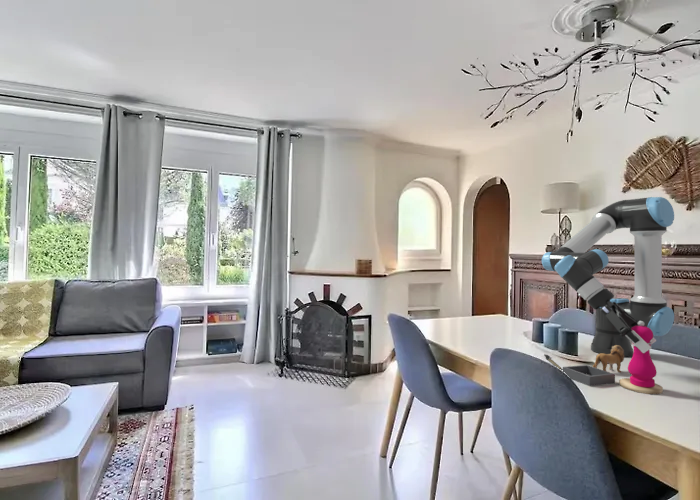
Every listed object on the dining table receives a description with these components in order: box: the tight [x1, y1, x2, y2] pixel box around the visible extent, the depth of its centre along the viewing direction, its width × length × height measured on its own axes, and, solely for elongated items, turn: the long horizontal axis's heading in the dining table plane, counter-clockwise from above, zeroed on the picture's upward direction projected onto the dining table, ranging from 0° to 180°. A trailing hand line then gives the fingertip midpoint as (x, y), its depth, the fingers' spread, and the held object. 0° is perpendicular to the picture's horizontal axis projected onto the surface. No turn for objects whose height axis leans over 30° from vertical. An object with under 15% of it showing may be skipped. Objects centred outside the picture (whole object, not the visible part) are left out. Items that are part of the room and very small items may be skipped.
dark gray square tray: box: [562, 364, 616, 387], centre depth 131 cm, size 11×11×3 cm
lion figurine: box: [592, 345, 625, 373], centre depth 140 cm, size 15×5×9 cm, turn 116°
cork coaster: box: [618, 377, 664, 395], centre depth 124 cm, size 11×11×1 cm
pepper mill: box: [627, 321, 658, 388], centre depth 123 cm, size 7×7×20 cm
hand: (650, 346), depth 122 cm, fingers open, 13 cm apart
